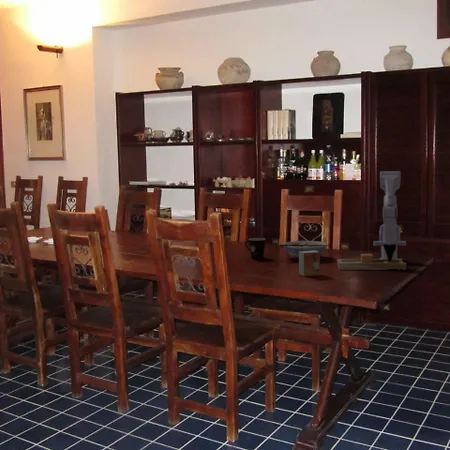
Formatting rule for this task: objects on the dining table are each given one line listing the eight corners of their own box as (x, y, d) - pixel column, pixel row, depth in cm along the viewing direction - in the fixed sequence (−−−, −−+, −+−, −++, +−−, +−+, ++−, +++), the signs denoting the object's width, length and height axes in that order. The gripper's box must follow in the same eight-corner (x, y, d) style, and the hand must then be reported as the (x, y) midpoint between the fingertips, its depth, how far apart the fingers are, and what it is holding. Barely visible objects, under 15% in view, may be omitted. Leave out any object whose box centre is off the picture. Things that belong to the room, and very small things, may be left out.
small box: (303, 276, 268) (303, 253, 267) (298, 274, 274) (298, 251, 272) (320, 275, 270) (320, 251, 269) (315, 272, 276) (315, 249, 274)
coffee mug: (268, 258, 313) (268, 239, 312) (253, 260, 310) (252, 240, 309) (259, 255, 324) (258, 236, 323) (244, 256, 321) (243, 238, 320)
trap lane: (337, 265, 292) (337, 259, 291) (401, 265, 289) (401, 258, 288) (339, 269, 281) (339, 263, 281) (406, 269, 278) (406, 263, 277)
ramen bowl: (327, 254, 323) (327, 238, 322) (331, 262, 300) (331, 245, 299) (280, 254, 325) (280, 239, 324) (280, 262, 303) (279, 246, 302)
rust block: (360, 262, 287) (360, 253, 287) (371, 262, 287) (371, 253, 286) (361, 264, 283) (361, 255, 282) (372, 264, 282) (372, 255, 282)
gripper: (375, 233, 279) (374, 262, 280) (407, 233, 277) (407, 262, 279) (372, 231, 286) (372, 259, 287) (404, 230, 284) (404, 259, 286)
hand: (389, 260), depth 284 cm, fingers closed
